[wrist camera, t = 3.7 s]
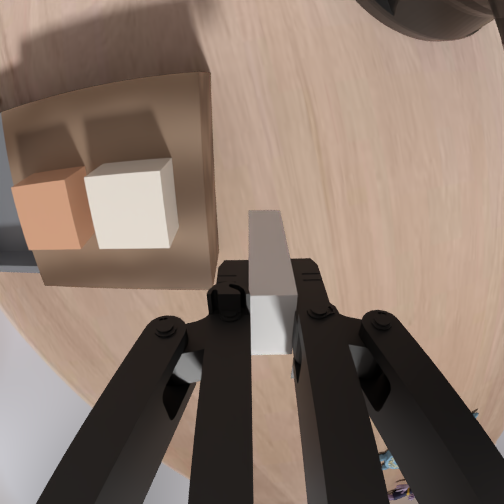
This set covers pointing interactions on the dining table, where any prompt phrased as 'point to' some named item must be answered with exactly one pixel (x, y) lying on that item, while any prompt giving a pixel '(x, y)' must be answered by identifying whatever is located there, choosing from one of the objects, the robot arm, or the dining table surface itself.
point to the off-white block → (133, 204)
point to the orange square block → (54, 209)
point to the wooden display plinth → (119, 150)
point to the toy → (401, 492)
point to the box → (11, 223)
